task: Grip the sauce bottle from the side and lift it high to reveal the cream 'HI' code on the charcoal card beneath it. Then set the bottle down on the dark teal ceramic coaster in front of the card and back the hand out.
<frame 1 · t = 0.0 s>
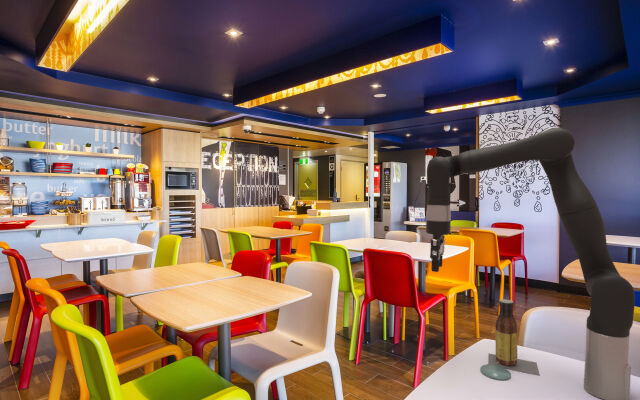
hand: (436, 268, 118), 29 cm above the table, tool pointing down, fingers open, 8 cm apart
code card: (512, 363, 115), on the table
coaster: (495, 373, 109), on the table
sauce bottle: (505, 362, 116), resting on code card
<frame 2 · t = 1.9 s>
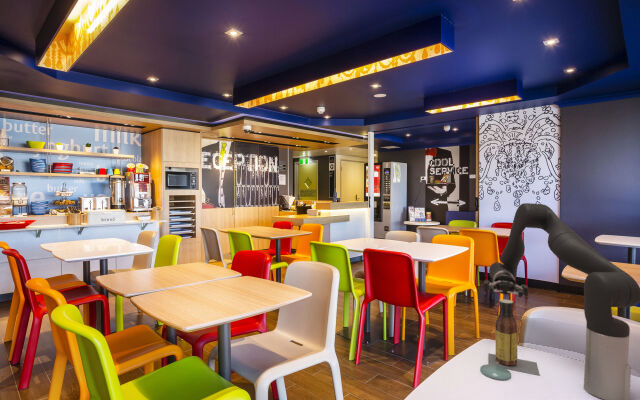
hand: (506, 292, 125), 20 cm above the table, tool horizontal, fingers open, 8 cm apart
nothing on the table moved.
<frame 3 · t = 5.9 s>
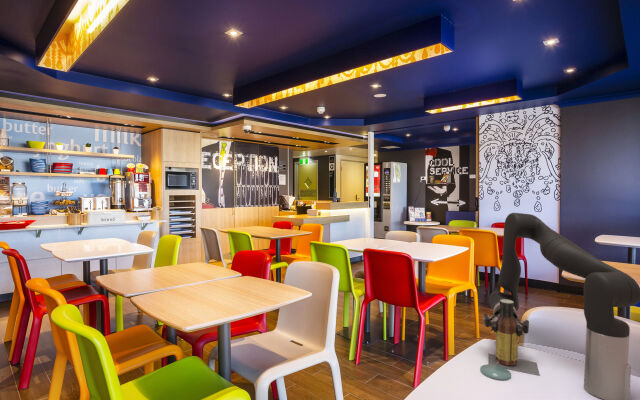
hand: (506, 331, 114), 11 cm above the table, tool horizontal, fingers closed on sauce bottle, 6 cm apart
sauce bottle: (505, 362, 116), resting on code card, touching gripper
when the fingers open (12 cm above the table, at t = 13.7 s): sauce bottle stays where it is, resting on coaster.
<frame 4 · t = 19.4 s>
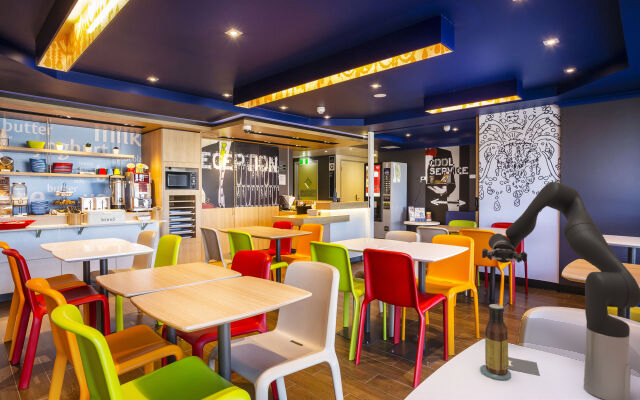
hand: (504, 258, 124), 32 cm above the table, tool horizontal, fingers open, 8 cm apart
sauce bottle: (495, 371, 109), resting on coaster
at the end: sauce bottle 0.2 cm from the coaster (horizontally); sauce bottle tilted 1°; the gripper is holding nothing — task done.
